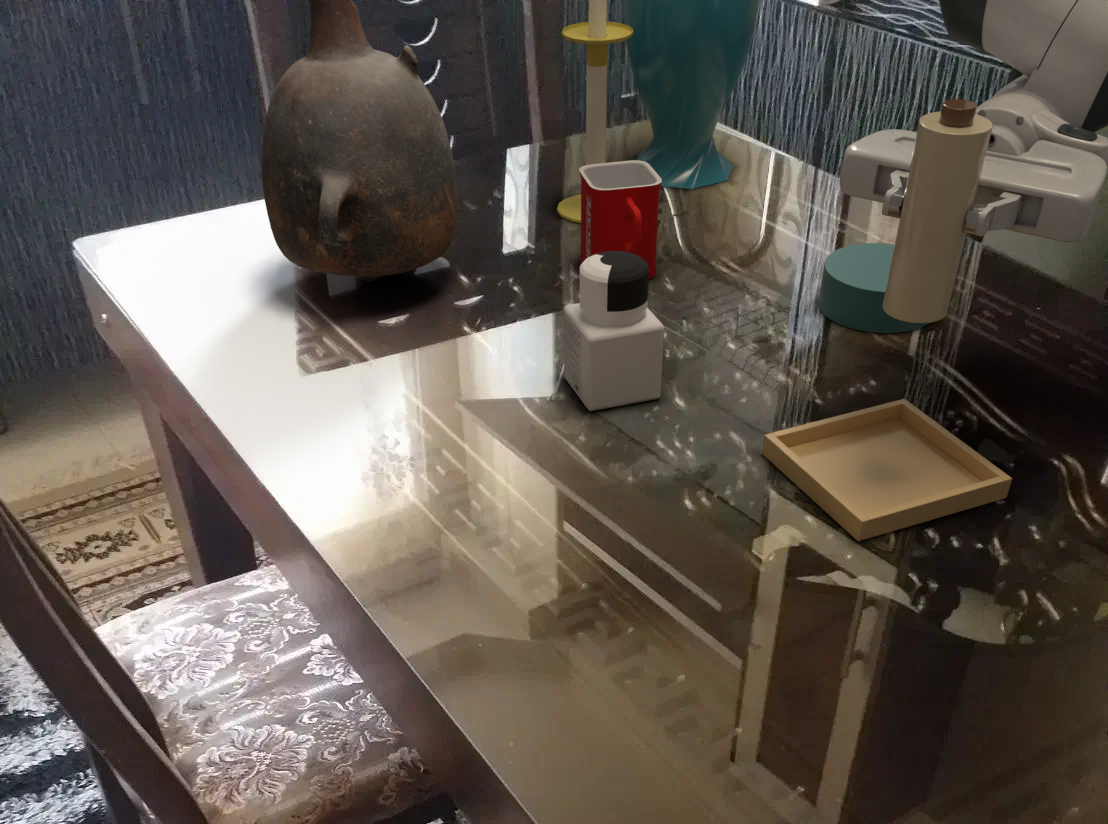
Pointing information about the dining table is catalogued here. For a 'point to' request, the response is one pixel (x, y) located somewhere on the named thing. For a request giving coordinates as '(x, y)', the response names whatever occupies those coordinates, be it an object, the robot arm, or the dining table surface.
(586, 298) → the container
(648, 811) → the dining table surface
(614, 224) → the mug
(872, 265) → the stand
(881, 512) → the tray
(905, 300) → the canister
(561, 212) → the candle
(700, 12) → the vase
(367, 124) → the jug
